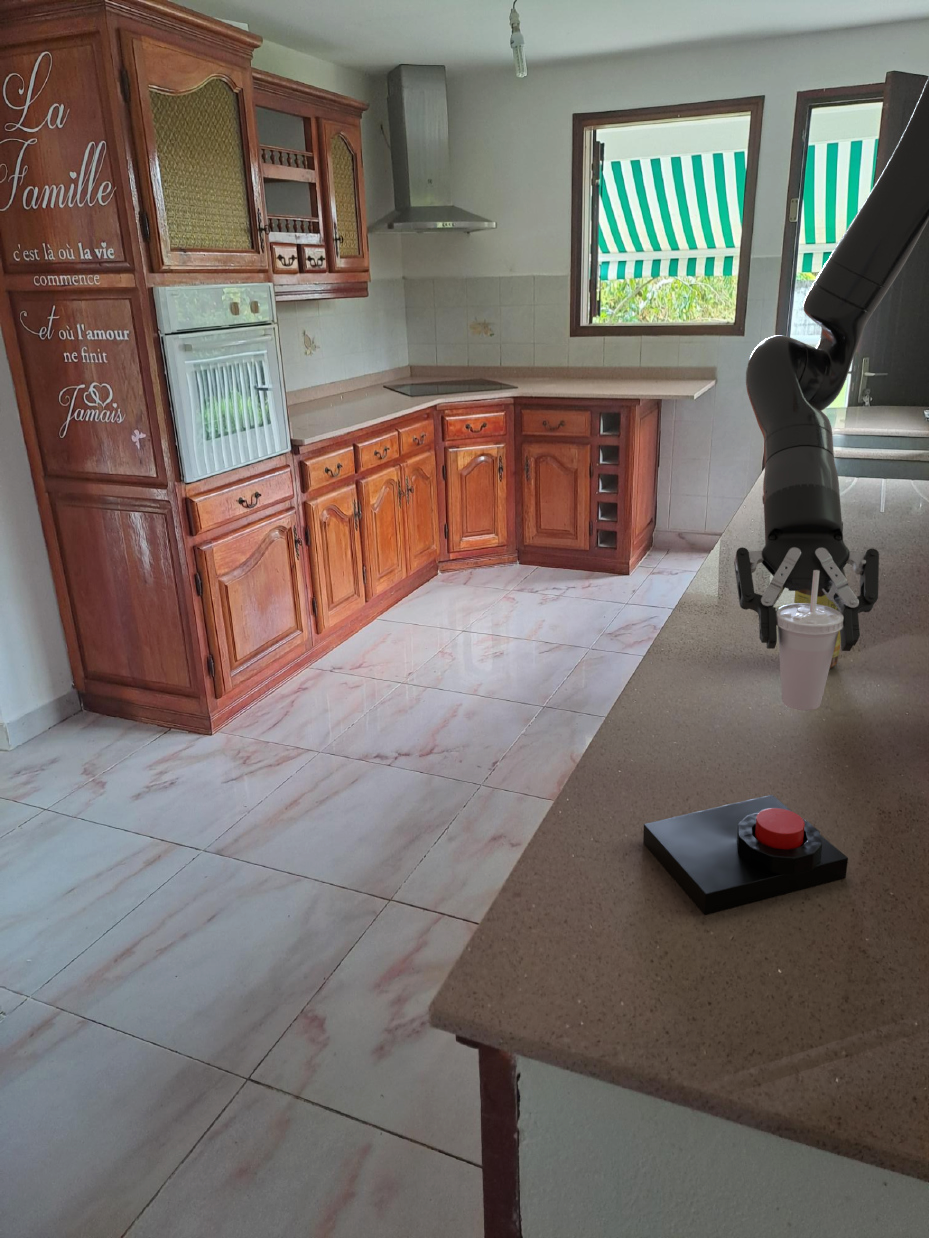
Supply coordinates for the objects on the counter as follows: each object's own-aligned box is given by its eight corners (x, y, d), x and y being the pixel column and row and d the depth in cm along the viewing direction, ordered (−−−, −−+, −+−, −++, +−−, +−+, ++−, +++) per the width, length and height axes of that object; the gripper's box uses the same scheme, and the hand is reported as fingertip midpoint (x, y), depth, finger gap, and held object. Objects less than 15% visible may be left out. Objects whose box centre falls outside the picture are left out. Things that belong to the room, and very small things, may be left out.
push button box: (770, 813, 87) (773, 778, 86) (849, 881, 77) (854, 842, 75) (643, 843, 84) (643, 807, 82) (707, 919, 73) (709, 879, 72)
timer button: (784, 820, 80) (785, 804, 79) (812, 845, 76) (814, 827, 76) (745, 829, 79) (746, 813, 78) (772, 855, 75) (774, 837, 75)
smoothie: (848, 703, 89) (862, 572, 84) (809, 722, 86) (822, 587, 81) (793, 683, 94) (804, 558, 89) (755, 700, 91) (764, 572, 86)
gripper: (733, 481, 91) (737, 630, 84) (883, 480, 88) (899, 634, 81) (727, 518, 97) (729, 658, 91) (865, 518, 95) (878, 663, 88)
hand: (809, 646), depth 86 cm, fingers closed on smoothie, 6 cm apart
